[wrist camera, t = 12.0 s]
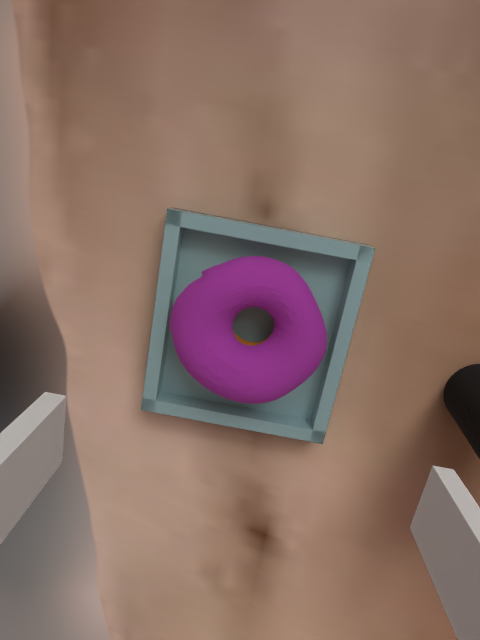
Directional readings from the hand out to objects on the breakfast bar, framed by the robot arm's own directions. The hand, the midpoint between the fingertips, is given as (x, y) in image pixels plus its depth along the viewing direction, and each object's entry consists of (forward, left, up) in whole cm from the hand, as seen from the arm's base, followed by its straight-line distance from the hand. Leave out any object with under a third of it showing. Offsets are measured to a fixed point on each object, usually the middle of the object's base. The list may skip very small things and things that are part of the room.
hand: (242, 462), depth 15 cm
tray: (0, 0, -18) cm, 18 cm away
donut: (0, 0, -18) cm, 18 cm away
